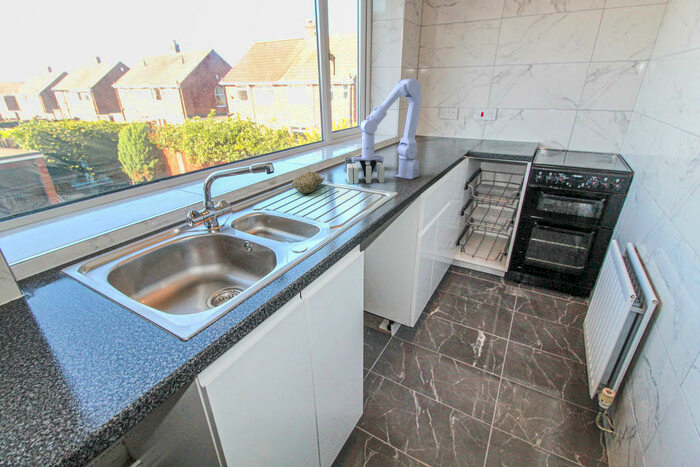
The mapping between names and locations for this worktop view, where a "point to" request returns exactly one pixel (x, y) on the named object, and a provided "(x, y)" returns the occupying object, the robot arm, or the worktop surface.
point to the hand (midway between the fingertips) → (367, 176)
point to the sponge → (307, 182)
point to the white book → (368, 173)
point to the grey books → (349, 161)
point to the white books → (354, 173)
